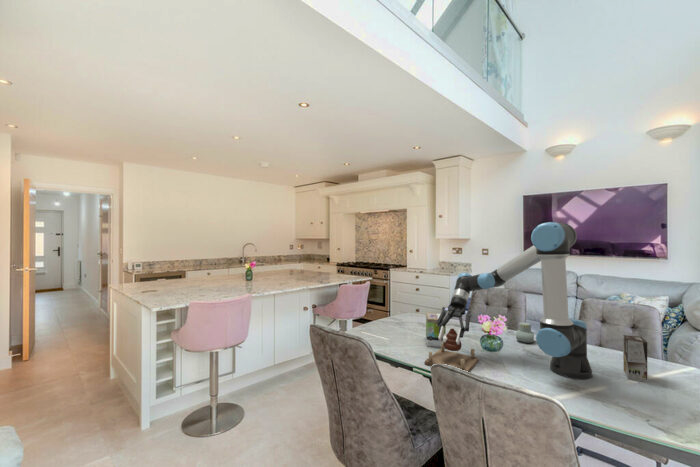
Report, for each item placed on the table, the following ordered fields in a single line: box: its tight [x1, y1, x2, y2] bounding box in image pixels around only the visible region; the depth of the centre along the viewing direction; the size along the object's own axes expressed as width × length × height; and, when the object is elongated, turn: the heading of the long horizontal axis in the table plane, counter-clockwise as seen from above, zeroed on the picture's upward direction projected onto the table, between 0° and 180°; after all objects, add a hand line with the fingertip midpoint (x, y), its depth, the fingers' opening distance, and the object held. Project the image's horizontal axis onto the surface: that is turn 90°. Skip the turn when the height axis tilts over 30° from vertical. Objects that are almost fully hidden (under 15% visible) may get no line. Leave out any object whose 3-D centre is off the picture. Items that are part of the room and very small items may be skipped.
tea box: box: [425, 312, 447, 348], centre depth 178 cm, size 15×10×15 cm, turn 168°
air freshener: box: [515, 321, 535, 344], centre depth 179 cm, size 11×8×10 cm
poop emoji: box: [442, 328, 462, 352], centre depth 149 cm, size 10×8×9 cm
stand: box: [424, 343, 480, 373], centre depth 149 cm, size 19×19×6 cm
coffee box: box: [622, 334, 648, 383], centre depth 133 cm, size 9×6×16 cm
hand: (448, 341), depth 147 cm, fingers closed on poop emoji, 7 cm apart
